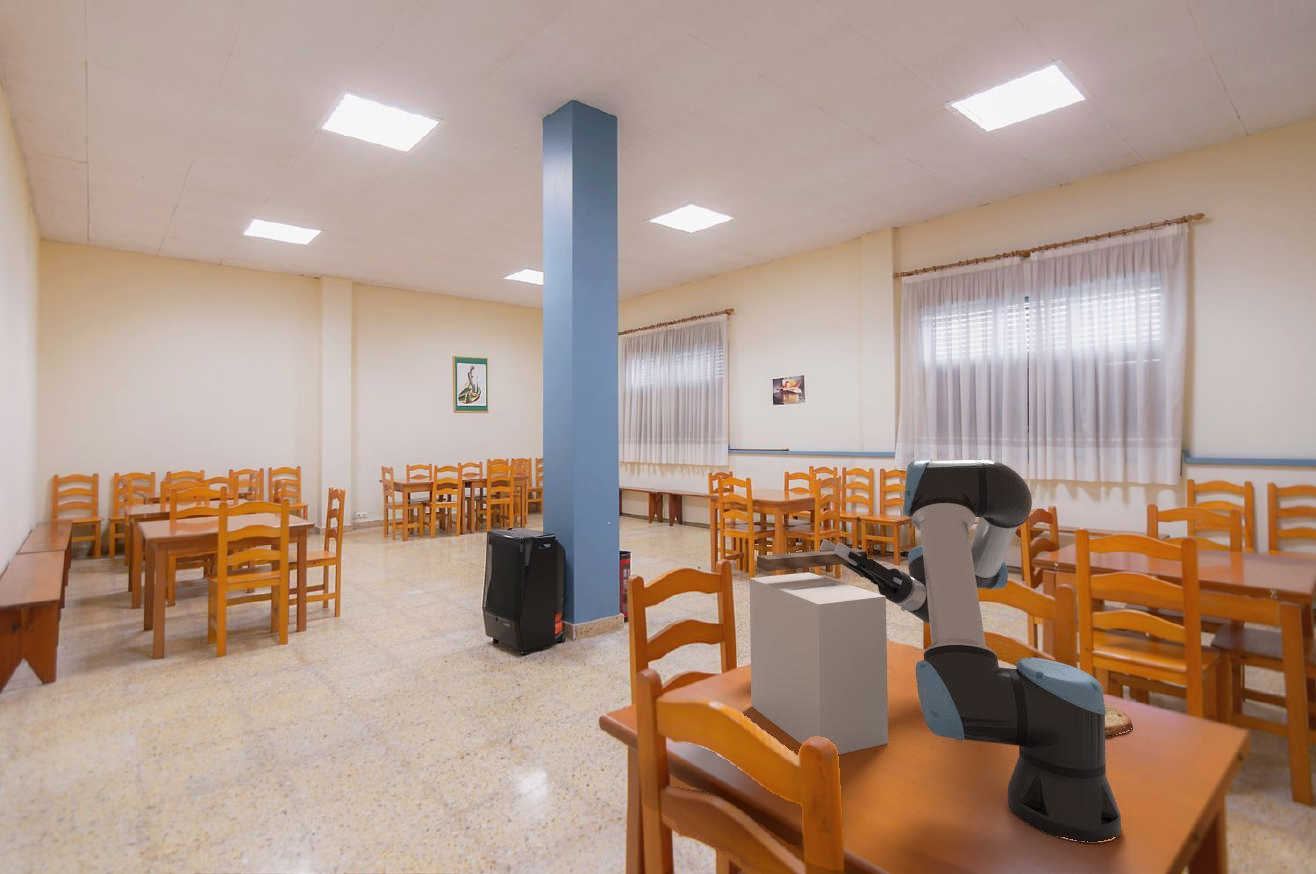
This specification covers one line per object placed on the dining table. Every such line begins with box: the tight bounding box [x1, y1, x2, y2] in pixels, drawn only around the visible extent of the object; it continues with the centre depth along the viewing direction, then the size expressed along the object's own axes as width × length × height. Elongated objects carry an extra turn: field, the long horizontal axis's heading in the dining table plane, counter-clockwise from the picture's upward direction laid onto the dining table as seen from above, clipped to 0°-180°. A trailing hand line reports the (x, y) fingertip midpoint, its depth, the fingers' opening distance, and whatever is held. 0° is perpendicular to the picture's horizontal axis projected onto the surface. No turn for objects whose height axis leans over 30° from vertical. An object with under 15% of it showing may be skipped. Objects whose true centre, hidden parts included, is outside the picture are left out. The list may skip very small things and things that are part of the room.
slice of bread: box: [1105, 705, 1134, 737], centre depth 133 cm, size 18×18×4 cm
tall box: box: [749, 572, 889, 756], centre depth 134 cm, size 16×26×29 cm, turn 21°
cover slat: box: [756, 547, 868, 572], centre depth 141 cm, size 26×5×2 cm, turn 111°
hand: (829, 545), depth 143 cm, fingers closed on cover slat, 5 cm apart
